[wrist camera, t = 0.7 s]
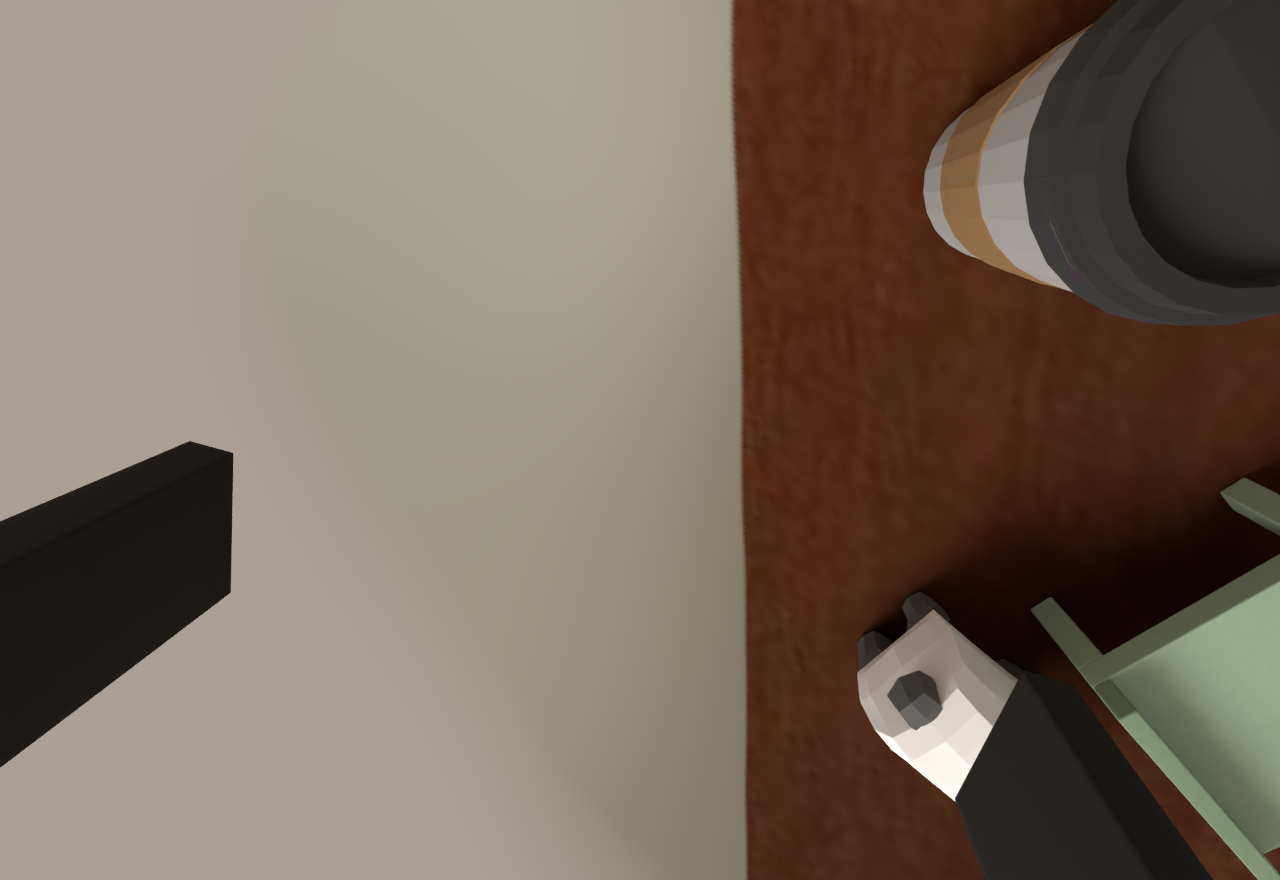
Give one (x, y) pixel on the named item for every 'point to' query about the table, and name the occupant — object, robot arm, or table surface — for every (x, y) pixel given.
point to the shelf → (1205, 693)
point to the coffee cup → (1130, 165)
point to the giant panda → (932, 693)
